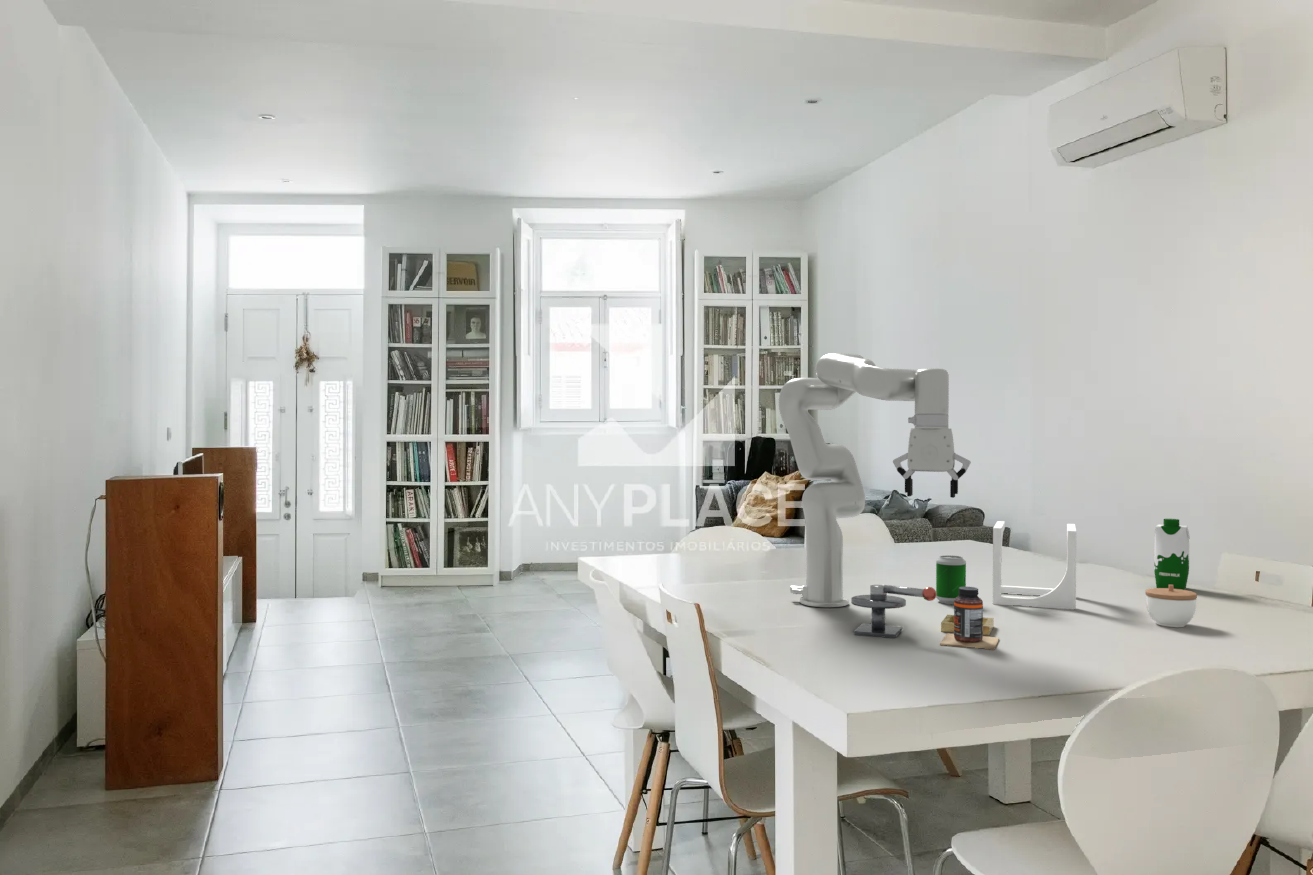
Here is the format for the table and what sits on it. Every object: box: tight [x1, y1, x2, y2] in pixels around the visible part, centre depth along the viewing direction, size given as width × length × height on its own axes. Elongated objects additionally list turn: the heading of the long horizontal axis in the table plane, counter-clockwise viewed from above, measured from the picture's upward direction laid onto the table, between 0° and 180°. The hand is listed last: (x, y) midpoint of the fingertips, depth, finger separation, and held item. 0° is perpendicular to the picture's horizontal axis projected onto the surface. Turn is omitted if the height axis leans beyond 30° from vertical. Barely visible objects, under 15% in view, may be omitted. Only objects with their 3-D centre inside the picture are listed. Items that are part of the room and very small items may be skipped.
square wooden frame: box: [940, 614, 995, 636], centre depth 226 cm, size 10×10×2 cm
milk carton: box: [1153, 518, 1190, 590], centre depth 282 cm, size 9×9×20 cm
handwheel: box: [850, 584, 937, 610], centre depth 219 cm, size 20×12×5 cm, turn 52°
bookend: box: [992, 520, 1077, 610], centre depth 263 cm, size 20×20×20 cm
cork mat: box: [939, 632, 1000, 651], centre depth 212 cm, size 11×11×1 cm
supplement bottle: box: [953, 586, 984, 643], centre depth 212 cm, size 6×6×11 cm
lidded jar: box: [1145, 585, 1198, 628], centre depth 231 cm, size 11×11×9 cm
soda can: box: [935, 554, 967, 605], centre depth 260 cm, size 8×8×12 cm
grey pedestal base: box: [853, 608, 903, 639], centre depth 222 cm, size 9×9×6 cm
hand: (931, 496), depth 227 cm, fingers open, 9 cm apart
